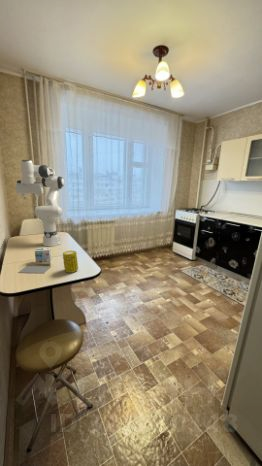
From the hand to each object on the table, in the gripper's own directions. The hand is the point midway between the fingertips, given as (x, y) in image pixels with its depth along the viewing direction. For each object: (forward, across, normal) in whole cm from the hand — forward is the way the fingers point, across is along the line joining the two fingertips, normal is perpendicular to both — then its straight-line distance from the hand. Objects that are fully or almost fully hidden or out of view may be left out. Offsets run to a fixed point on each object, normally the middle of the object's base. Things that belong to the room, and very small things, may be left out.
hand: (30, 199), depth 154 cm
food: (+48, -37, +28) cm, 67 cm away
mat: (+48, -11, +27) cm, 56 cm away
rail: (+48, -12, +20) cm, 53 cm away
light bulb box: (+48, -12, +13) cm, 51 cm away
